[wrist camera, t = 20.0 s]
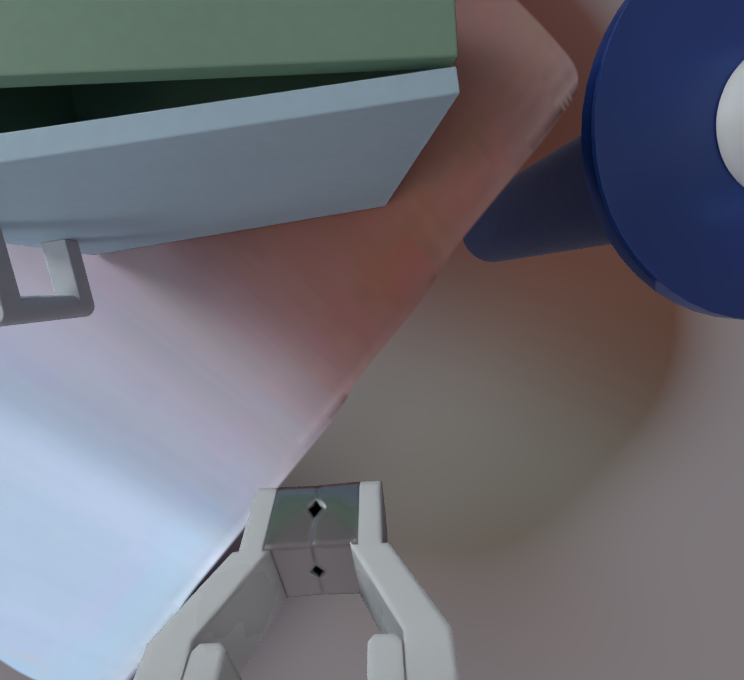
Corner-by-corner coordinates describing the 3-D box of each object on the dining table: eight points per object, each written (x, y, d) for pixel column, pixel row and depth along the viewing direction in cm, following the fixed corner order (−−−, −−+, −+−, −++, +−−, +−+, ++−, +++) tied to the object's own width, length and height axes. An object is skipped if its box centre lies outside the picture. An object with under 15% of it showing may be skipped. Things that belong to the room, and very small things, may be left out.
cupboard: (383, 192, 40) (458, 56, 17) (84, 212, 38) (-319, 88, 14) (368, 1, 38) (430, -464, 15) (53, 11, 36) (-475, -512, 13)
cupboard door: (395, 264, 41) (480, 232, 18) (108, 315, 39) (-223, 355, 16) (383, 195, 40) (456, 65, 17) (89, 243, 38) (-288, 175, 15)
